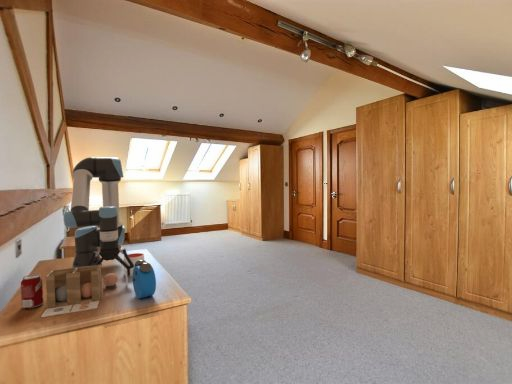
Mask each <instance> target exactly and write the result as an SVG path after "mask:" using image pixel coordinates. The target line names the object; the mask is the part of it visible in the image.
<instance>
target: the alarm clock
mask: <svg viewBox="0 0 512 384" xmlns="http://www.w3.org/2000/svg"><path fill="white" fill-rule="evenodd" d="M132 286H133V287H132V288H133V291H134V294H135V296H136V298H137V299H143V298H144V299H145V298H147V297H151V298H153V296H154V295H155V293H156V291H157V290H156V289H157V278H156V273H155V271H154V268H153V266H152V265H151V263H149V262H147V261H146V260H145V259H144V260H139V261H137V262H136V263H135V267H134V269H133V276H132Z"/></svg>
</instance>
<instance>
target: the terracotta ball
mask: <svg viewBox="0 0 512 384" xmlns="http://www.w3.org/2000/svg"><path fill="white" fill-rule="evenodd" d="M80 289H81V296H82V297H84V298H89V297H91V296H92V285H91V283H85V284H84V285H82V286H81V288H80Z"/></svg>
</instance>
